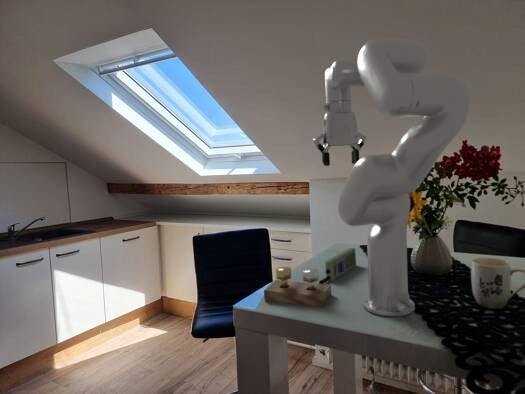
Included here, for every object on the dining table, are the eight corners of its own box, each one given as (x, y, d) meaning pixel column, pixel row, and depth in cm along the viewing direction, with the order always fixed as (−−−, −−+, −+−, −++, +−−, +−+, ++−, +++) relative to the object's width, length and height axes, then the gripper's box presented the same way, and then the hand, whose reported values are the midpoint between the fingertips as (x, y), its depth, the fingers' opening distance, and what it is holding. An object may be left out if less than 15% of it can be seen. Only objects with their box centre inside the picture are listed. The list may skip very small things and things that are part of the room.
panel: (331, 294, 105) (330, 284, 105) (323, 307, 97) (322, 296, 97) (276, 289, 112) (275, 280, 112) (264, 300, 104) (263, 290, 104)
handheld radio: (358, 266, 132) (326, 287, 112) (349, 265, 134) (316, 286, 114) (356, 248, 132) (324, 266, 112) (348, 247, 134) (314, 265, 114)
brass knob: (294, 288, 105) (293, 269, 104) (279, 291, 104) (278, 272, 103) (289, 284, 109) (288, 265, 108) (275, 286, 108) (274, 267, 107)
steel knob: (321, 291, 101) (320, 271, 101) (306, 293, 100) (305, 273, 100) (315, 286, 106) (314, 267, 105) (301, 288, 105) (300, 269, 104)
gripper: (317, 107, 107) (319, 166, 109) (370, 106, 111) (372, 162, 113) (307, 111, 114) (310, 166, 116) (358, 109, 118) (360, 163, 120)
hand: (341, 164), depth 114 cm, fingers open, 9 cm apart
